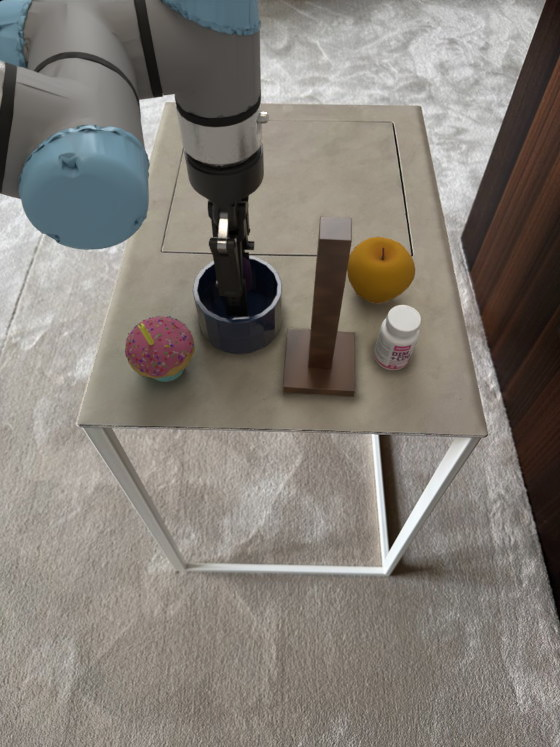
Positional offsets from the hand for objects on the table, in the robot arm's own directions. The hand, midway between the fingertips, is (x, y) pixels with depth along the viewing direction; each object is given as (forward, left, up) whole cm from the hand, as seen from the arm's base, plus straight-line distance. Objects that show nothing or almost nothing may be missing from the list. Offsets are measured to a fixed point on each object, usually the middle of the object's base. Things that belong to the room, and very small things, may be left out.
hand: (239, 300), depth 71 cm
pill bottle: (+20, -5, -4) cm, 21 cm away
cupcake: (-9, -8, -4) cm, 13 cm away
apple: (+18, +6, -4) cm, 20 cm away
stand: (+11, -7, -4) cm, 13 cm away
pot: (0, 0, -4) cm, 4 cm away
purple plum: (0, 0, +3) cm, 3 cm away
